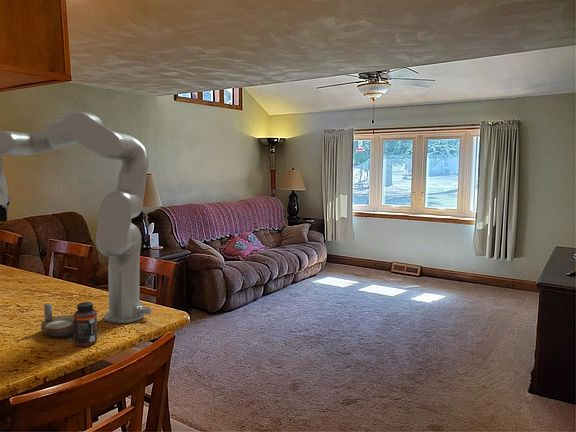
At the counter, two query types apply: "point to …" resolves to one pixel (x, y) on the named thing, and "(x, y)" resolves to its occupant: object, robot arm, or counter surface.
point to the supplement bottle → (85, 325)
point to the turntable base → (62, 336)
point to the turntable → (57, 322)
